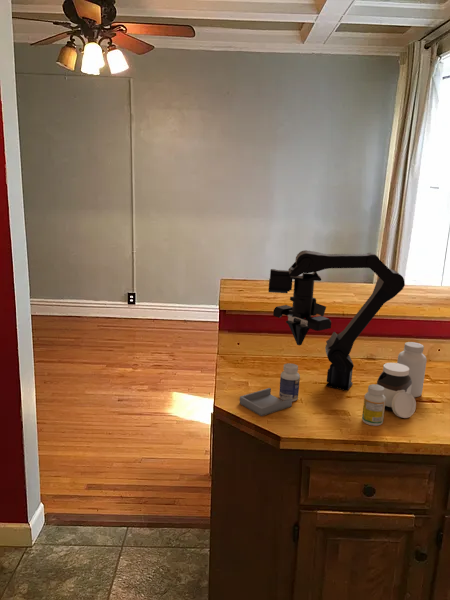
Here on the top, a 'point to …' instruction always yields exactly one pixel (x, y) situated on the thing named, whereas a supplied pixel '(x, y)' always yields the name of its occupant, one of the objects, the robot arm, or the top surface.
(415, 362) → the pill bottle
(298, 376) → the pill bottle
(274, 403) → the tray
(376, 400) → the supplement bottle
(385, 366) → the spread jar
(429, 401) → the top surface
